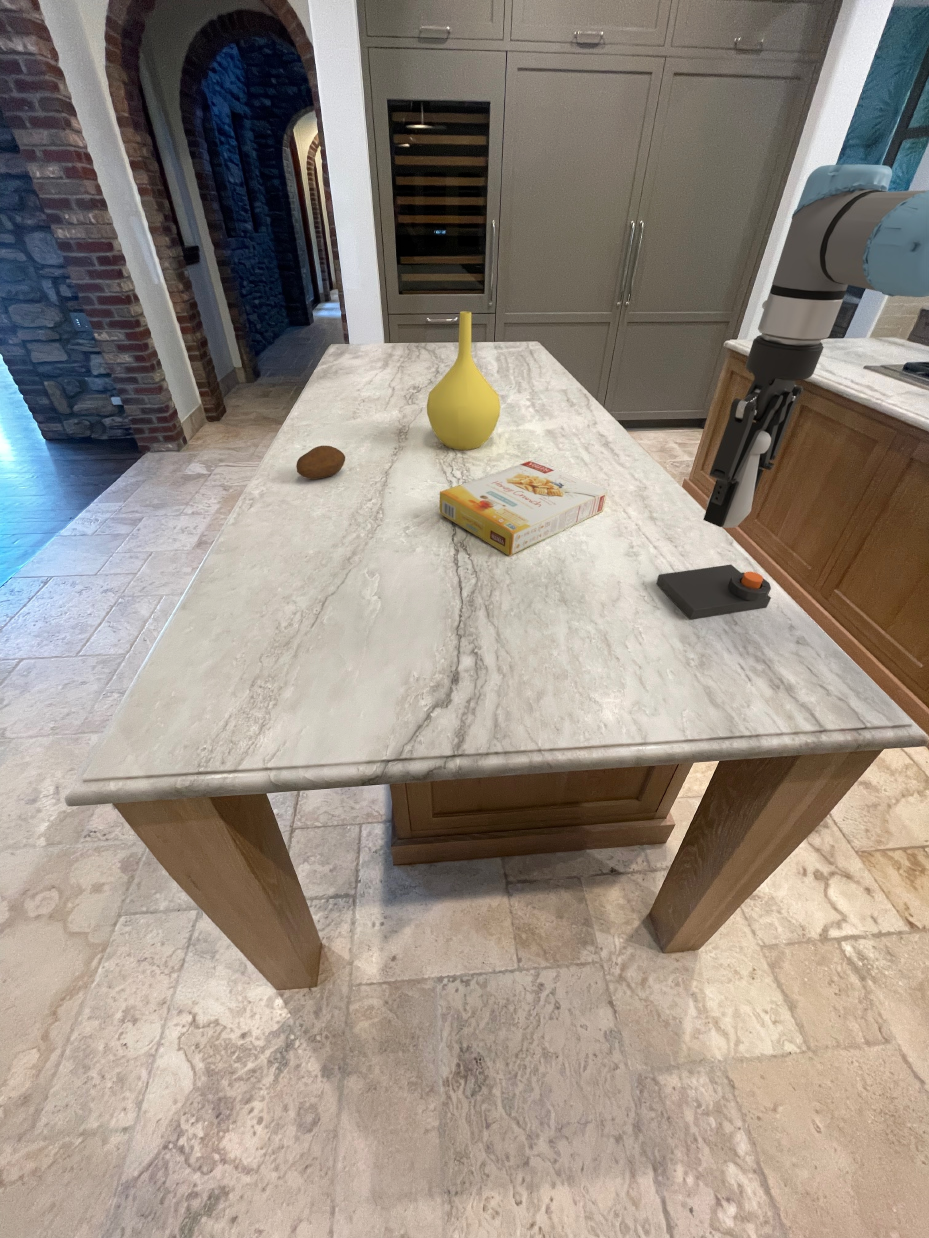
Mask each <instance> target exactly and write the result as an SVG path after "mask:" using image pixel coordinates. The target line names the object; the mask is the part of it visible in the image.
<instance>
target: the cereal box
mask: <svg viewBox="0 0 929 1238" xmlns="http://www.w3.org/2000/svg"><path fill="white" fill-rule="evenodd" d="M607 496H608V489H607V488H606V487H603V486H601V485H598V484H595V483H593V482H591V481H588V480H586V479H583V478H581V477H578V476H576V475H573V474H571V473H569V472H566V471H565V470H562V469H560V468H557V467H555V466H552V465H550V464H548V463H545V462H544V461H540V460H538V459H535V458H534V459H532V460H529V461H526V462H523V463H520V464H517V465H514V466H511V467H507V468H504V469H502V470H499V471H496V472H494V473H490V474H488V475H485V476H482V477H479V478H476V479H472V480H470V481H467V482H464V483H460V484H458V485H455V486H452V487H449V488H447V489H443V490H441V491H439V503H438V505H439V506H438V510H439V514H440V516H442V517H445V519H448V520H449V521H450V522H453V523H454V524H456V525H458V526H459V527H461V528H463V529H464V530H466V531H468V532H469V533H470V534H473V535H474V536H476V537H478V538H479V539H481V540H483V542H486V543H487V544H489V545H490V546H492V547H494V548H495V549H497V550H498V551H500V552H502V553H504V554H505V555H507V556H510V557H511V556H512V555H514V554H516V553H518V552H520V551H522V550H525V549H527V548H530V547H531V546H533V545H536V544H537V543H539V542H542V541H544V540H545V539H548V538H550V537H552V536H554V535H557V534H558V533H560V532H562V531H565V530H567V529H569V528H571V527H573V526H576V525H577V524H579V523H581V522H583V521H586V520H588V519H590V518H591V517H593V516H596V515H598V514H600V513H602V512H604V508H605V504H606V500H607Z"/></svg>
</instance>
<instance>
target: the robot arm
mask: <svg viewBox="0 0 929 1238" xmlns="http://www.w3.org/2000/svg"><path fill="white" fill-rule="evenodd" d="M892 177H893V170H892V168H891V167H890V166H889V165H883V164H863V163H861V164H857V163H856V164H825V165H821V166H819V167H816V168H815V169H813V171H812V172H811V173H810V174H809V176H808V177H807V178H806V181H805V184H804V187H803V190H802V192H801V195H800V198H799V201H798V204H797V206H796V208H795V209H794V211H793V213H792V215H791V222H790V225H789V228H788V230H787V231H788V232H787V234H786V237H785V240H784V244H783V247H782V250H781V253H780V257H779V260H778V263H777V267H776V270H775V273H774V275H773V279H772V282H771V287H770V289H769V293H768V296H767V299H766V300H764V301H763V303H762V305H761V308H762V309H763V311H762V313H761V318H760V320H759V324H758V327H757V330H758V332H759V333H760V334H759V335H757V336H756V337H755V338H753V341H752V344H751V347H750V350H749V353H748V355H747V359H746V362H745V369H746V370H747V372H749V373H750V374H752V375H753V377H754V378H753V381H752V383H751V385H750V386H749V388H748V390H747V392H746V394H745V397H744V399H741V398H734V399H733V401H732V403H731V405H730V410H729V416H728V420H727V423H726V426H725V429H724V431H723V434H722V438H721V440H720V443H719V446H718V449H717V451H716V454H715V458H714V460H713V463H712V465H711V468H710V472H709V477H712V478H714V479H716V480H715V483H714V486H713V488H712V489H713V490H712V492H711V493H712V495H711V494H710V495H711V498H710V501H709V504H708V507H707V506H706V510H705V513H704V516H703V521H704V522H707V523H710V524H712V525H713V526H716V527H719V528H723V527H722V526H724V523H725V520H726V517H727V515H728V512H729V509H730V506H731V504H732V501H733V498H734V495H735V493H736V490H737V487H738V484H739V482H738V481H736V480H737V478H738V476H739V474H740V472H741V470H742V468H743V466H744V464H745V462H746V459H747V457H748V455H749V453H750V451H751V449H752V447H753V445H754V443H755V441H756V439H757V437H758V435H759V433H760V432H761V431H765V432H767V433H768V434H769V435H770V437H771V443H770V446H769V448H768V450H767V451H766V452H765V453H761V454H760V457H759V464H758V470H757V476H756V482H755V489H754V495H753V497H754V496H755V494H756V491H757V488H758V486H759V483H760V481H761V478H762V476H763V473H764V471H765V470H767V471H771V470H772V469H773V467H774V465H775V463H773V462H774V460H776V458H777V455H778V453H779V450H780V447H781V445H782V442H783V439H784V437H785V434H786V432H787V428H788V426H789V424H790V421H791V418H792V416H793V412H794V409H795V407H796V405H797V403H798V401H799V399H800V397H801V396H802V393H803V390H804V386H802V385H798V384H796V381H804V380H807V379H809V378H811V377H812V376H813V375H814V373H815V370H816V368H817V366H818V363H819V362H820V361H819V360H820V358H821V356H822V353H823V351H824V348H825V346H824V345H823V343H822V342H821V341H824V340H825V339H827V338H828V337H830V335H831V331H832V329H833V327H834V324H835V323H836V319H837V316H838V314H839V312H840V310H841V307H842V303H843V301H844V298H845V296H846V293H847V290H848V289H847V288H848V287H849V286H852V287H857V288H862V289H866V290H870V291H876V292H880V293H881V294H882V295H884V296H888V297H906V298H907V297H908V298H909V297H912V298H926V297H929V189H926V190H924V189H923V190H897V191H895V190H894V191H889V186H890V183H891V180H892ZM770 461H771V462H770Z"/></svg>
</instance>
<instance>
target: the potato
mask: <svg viewBox="0 0 929 1238" xmlns="http://www.w3.org/2000/svg"><path fill="white" fill-rule="evenodd" d="M345 462H346V455H345V453H344V452H343V451H341V450H340V449H338V448H336V447H334V446H331V445H319V446H315V447H313V448H311V449H309V451H308V452H305V453H304V454H302V455H301V456H299V458H298V459H297V461H296V465H295V466H296V467H295V468H296V472H297V474H298V475H299V476H300V477H303V478H305V479H308V480H319V479H325V478H330V477H332V476H335V475H337V474H338V473H339V472H340V471H341V470H342V468H343V466H344V464H345Z"/></svg>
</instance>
